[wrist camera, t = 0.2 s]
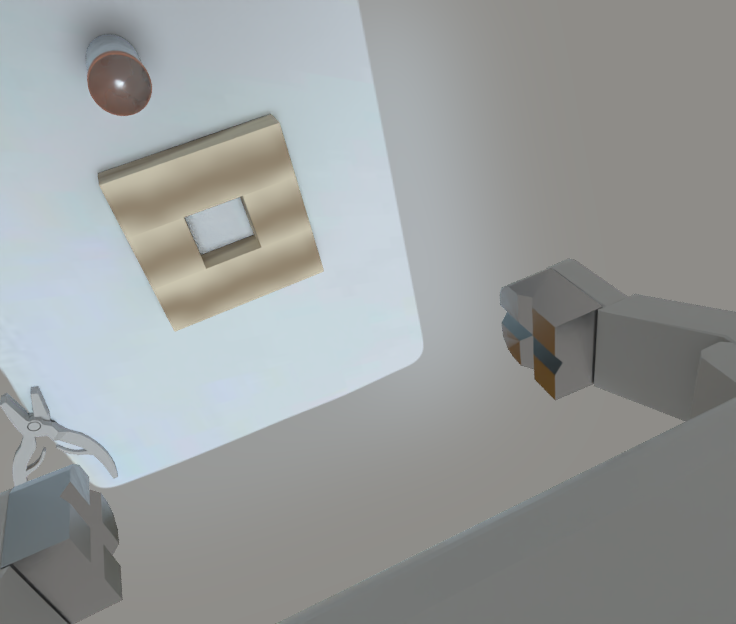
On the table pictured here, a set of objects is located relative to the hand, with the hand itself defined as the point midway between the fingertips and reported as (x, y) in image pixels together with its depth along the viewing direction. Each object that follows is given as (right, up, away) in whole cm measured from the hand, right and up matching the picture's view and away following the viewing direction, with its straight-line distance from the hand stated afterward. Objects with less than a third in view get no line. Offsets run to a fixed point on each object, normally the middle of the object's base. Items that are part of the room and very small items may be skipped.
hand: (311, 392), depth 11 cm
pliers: (-33, -12, +54) cm, 64 cm away
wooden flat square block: (-13, +10, +48) cm, 51 cm away
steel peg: (-19, +22, +38) cm, 48 cm away
